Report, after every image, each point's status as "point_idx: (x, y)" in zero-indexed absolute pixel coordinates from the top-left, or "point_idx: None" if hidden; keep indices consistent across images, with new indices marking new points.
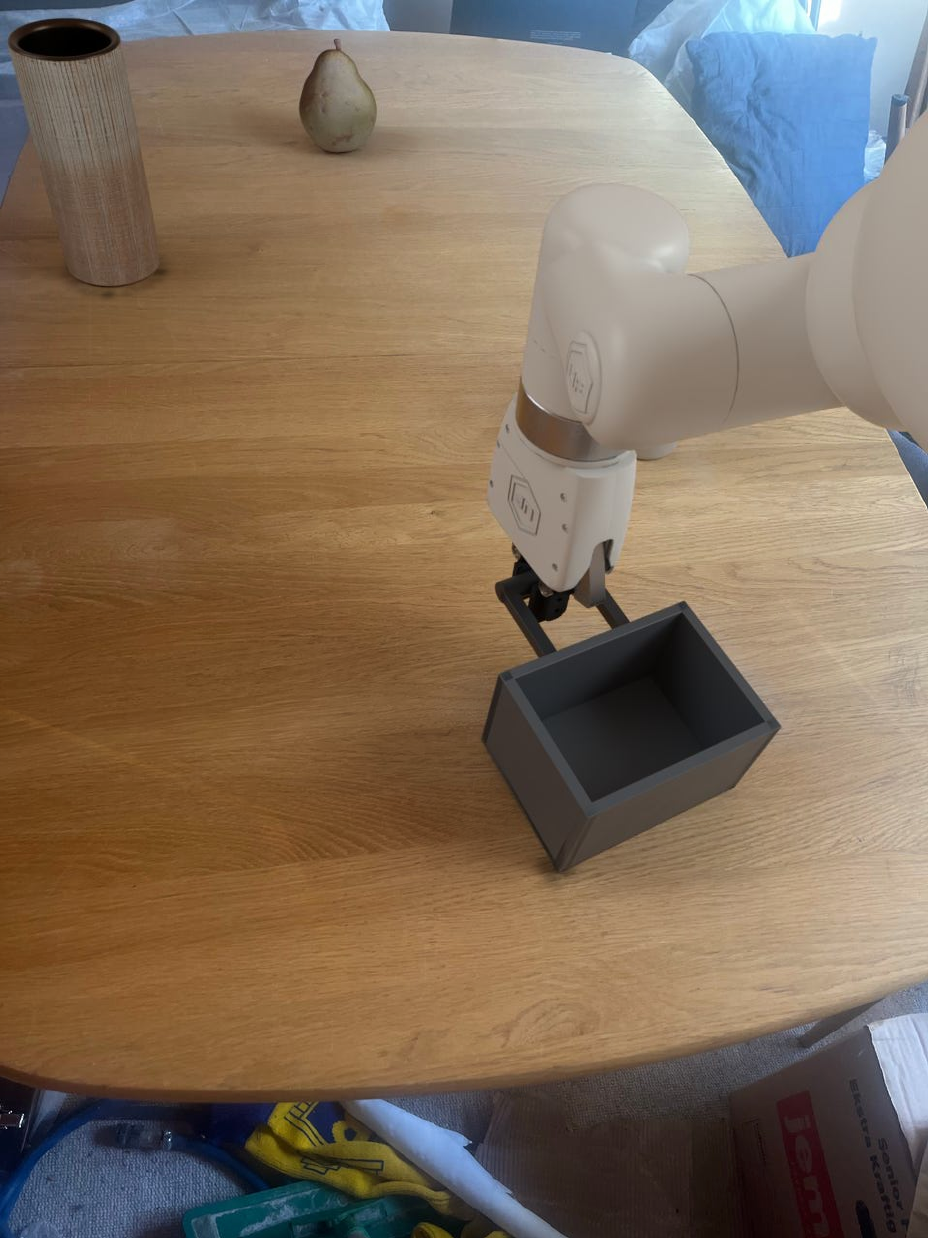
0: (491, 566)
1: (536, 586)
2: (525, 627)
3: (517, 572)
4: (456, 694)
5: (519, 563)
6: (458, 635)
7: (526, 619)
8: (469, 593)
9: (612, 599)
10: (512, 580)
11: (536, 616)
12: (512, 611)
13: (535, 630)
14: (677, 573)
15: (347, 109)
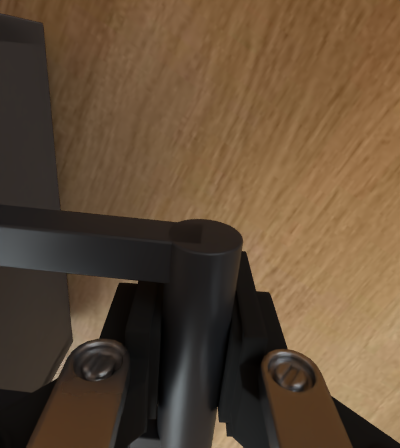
0: (367, 262)
1: (142, 341)
2: (31, 225)
3: (241, 319)
4: (178, 56)
5: (255, 347)
6: (287, 137)
7: (52, 245)
8: (348, 204)
9: None
10: (207, 295)
11: None
12: (118, 226)
13: (4, 244)
14: None
15: None
